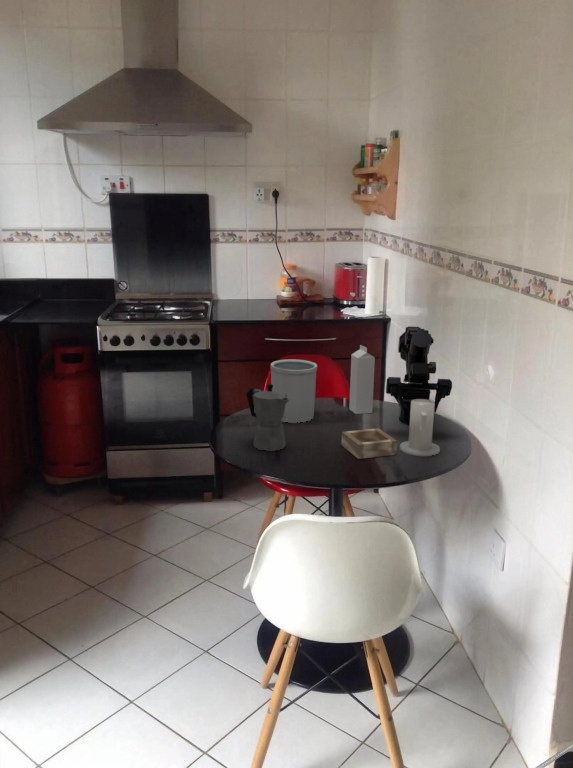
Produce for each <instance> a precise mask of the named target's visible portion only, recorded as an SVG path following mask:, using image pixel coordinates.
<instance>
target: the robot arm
mask: <svg viewBox="0 0 573 768" xmlns="http://www.w3.org/2000/svg"><path fill="white" fill-rule="evenodd" d="M398 338H399V339H398V349H397V353H399V356H400V359H401V360H403V361H405V374H404V378H403V381H401V380H402V378H401V376H399V377H398V376H388V377H387V378H386V385H385V394H387V395H390V396H391V397H394V399H395V400H396V402H397V404H398V406H399V408H400V413H399V414H400V415H399V417H398V419H399V420H400V421H401V422H403V423H405V424H406V425H410V410H411V401H412V400H414V399H427V400H430V396H431V391H435V396H434V402H435V405H434V414H436V413H437V411H438V407H439V404H440V402H441V401H442V399H445V398H446V397H449V396H450V395H451V392H452V389H453V381H452V380H451V379H450V378H438V379H437V381H436V382H435V383H434V382H429V381H430V379H431V378H430V377H431V375H432V374H436V373H437V362H436V361H429V359H428V355H429V354H430V349H431V346H432V344H434V341H435V340H434V338H433V337H432V334H431V333H430V332H429V330H428V329H425V328H422V327H419V326H406V327H405V331H404V332H403V333H402V334H401V335H399V337H398ZM428 361H429V362H428ZM430 374H431V375H430Z"/></svg>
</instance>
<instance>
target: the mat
mask: <svg viewBox="0 0 573 768" xmlns="http://www.w3.org/2000/svg"><path fill="white" fill-rule="evenodd" d="M408 442H409V440H406V441H403V442H401V443H400V444H399V449H400V451H401V452H403V453H404V454H406V455H410V456H414V457H433V456H432V455H434V456H436V454H437V455H438V454H439V453H440V452H441V448H440V447H441V446H439V445H438V444H436V443H434V442H432V447H431V449H430V450H425V451H420V450H414V449H411V448H409V447H408Z"/></svg>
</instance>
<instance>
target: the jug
mask: <svg viewBox="0 0 573 768" xmlns="http://www.w3.org/2000/svg"><path fill="white" fill-rule="evenodd" d="M434 405H435V401H433V400H431V399H429V400H427V399H414V400H412V401H411V410H410V424H409V427H408V430H409V431H408V441H409V442H408V447H409V448H411V449H414V450H420V451H425V450H430V449H431V447H432V443H433V429H434V418H435V417H434V416H435V413H434Z"/></svg>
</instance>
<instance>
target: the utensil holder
mask: <svg viewBox="0 0 573 768" xmlns="http://www.w3.org/2000/svg"><path fill="white" fill-rule="evenodd" d="M270 370H271V371H270V373H271V374H270V375H271V376H270V377H271V378H270V384H272V385H273V388H272V390H273V391H280V392H283V393H285V394H287V399H289V401H288V402H287V403H286V404H285V410H284V416H283V418H282V423H285V422H288V423H287V424H301V423H300V422H303V423H307V422H306V421H308V422H311V421H312V420H313V419H314V415H315V413H314V412H315V401H316V400H315V399H316V382H317V381H316V380H317V370H318V364H317V363H316V362H313V361H310V360H305V359H294V358H293V359H280V360H279V359H278V360H275V361H273V362H271V363H270ZM311 419H312V420H311ZM297 422H298V423H297Z"/></svg>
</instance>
